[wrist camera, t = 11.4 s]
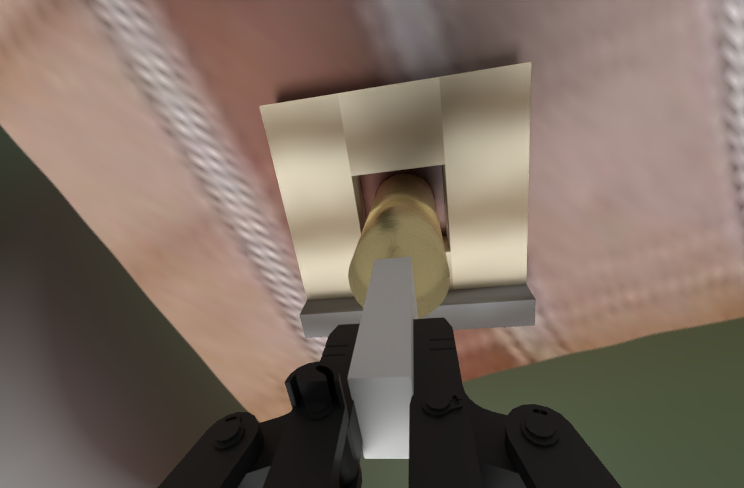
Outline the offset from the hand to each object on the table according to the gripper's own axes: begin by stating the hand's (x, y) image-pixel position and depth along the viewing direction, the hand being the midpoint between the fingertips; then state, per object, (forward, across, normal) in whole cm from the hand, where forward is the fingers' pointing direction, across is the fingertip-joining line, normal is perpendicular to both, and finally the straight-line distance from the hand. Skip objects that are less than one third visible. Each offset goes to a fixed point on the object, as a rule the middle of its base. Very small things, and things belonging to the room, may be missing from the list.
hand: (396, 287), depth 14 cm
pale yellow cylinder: (+13, 0, 0) cm, 13 cm away
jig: (+13, 0, 0) cm, 13 cm away
